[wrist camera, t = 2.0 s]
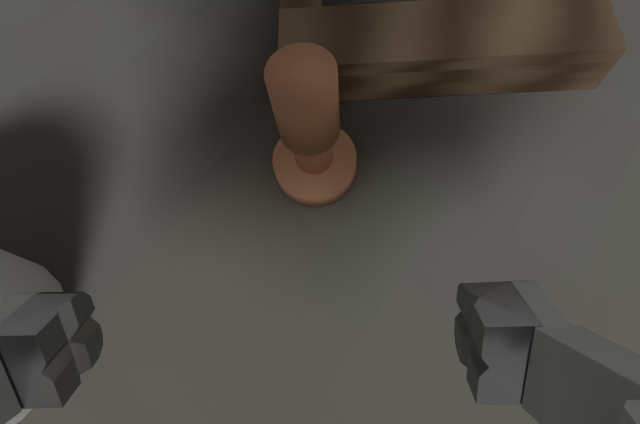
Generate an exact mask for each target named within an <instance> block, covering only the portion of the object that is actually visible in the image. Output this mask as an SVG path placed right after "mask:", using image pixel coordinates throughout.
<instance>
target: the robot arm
mask: <svg viewBox="0 0 640 424" xmlns="http://www.w3.org/2000/svg"><path fill="white" fill-rule="evenodd" d="M456 301H457V303H458V305H459V308H460V310H461V312H460V313H459V314H458V315H457V316H456V317H455V327H454V334H455V345H456V349H457V354H458V356H459V359H460V362H461V363H462V364H463V365H465V366H466V367H467V378H466V379H467V381H468V384H469V386H470V389H471V392H472V394H473V397H474V400H475V402H476V404H489V405H522V406H521V407H522V408H523V409H524V410H525V411H526V412H527V413H528V414H530V415H531V416H532V417H533V418H534V419H535V420H536V421H537V422H539V423H540V424H640V355H639V354H636V353H634V352H632V351H630V350H628V349H626V348H624V347H622V346H620V345H618V344H616V343H614V342H612V341H610V340H608V339H606V338H604V337H602V336H599V335H597V334H595V333H593V332H591V331H589V330H587V329H585V328H583V327H581V326H572V325H571V324H570V323H569V322H568V320H567V319H566V318H565V317H564V315H563V314H562V313H561V312H560V310H559V309H558V308H557V307H556V305H555V304H554V303H553V302H552V300H551V299H550V298H549V297H548V296H547V294H546V293H545V292H544V291H543V289H542V288H541V287H540V286H539V284H538V283H537V282H536V281H534V280H517V281H501V282H480V283H461V284H459V286H458V290H457V299H456ZM94 309H95V307H94V304H93V301H92V299H91V296H90V295H88V294H87V293H85V292H21V293H16V294H13V295H11V296H10V297H9V298H8V299H6V300H5V301H4V302H3V303H1V304H0V424H5V423H7V422H8V421H9V420H11V419H12V418H13V417H15V416H16V415H18V414H19V413H20V412H22V409H37V408H63V406H64V405H65V404H66V402H67V401H68V400H69V398H70V397H71V396H72V394H73V393H74V392H75V390H76V389H77V388H78V386H79V385H80V384H81V380H80V375H81V374H82V373H84V372H86V371H87V370H89V369H91V368H92V367H93V366H94V364H95V363H96V361H97V360H98V358H99V356H100V353H101V350H102V346H103V334H102V330H101V327H100V324H99V323H97V322H96V321H95V320H94V319H93V318H92V317H91V315H92V313H93V311H94Z"/></svg>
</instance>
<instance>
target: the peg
mask: <svg viewBox="0 0 640 424" xmlns="http://www.w3.org/2000/svg"><path fill="white" fill-rule="evenodd" d="M264 81H265V84H266V88H267V91H268V95H269V99H270V102H271V106H272V109H273V113H274V116H275V120H276V124H277V127H278V131H279V134H280V139H279V141H278V142H277V144H276V146H275V148H274V151H273V156H272V165H273V170H274V172H275V175H276V178H277V181H278V184H279V186H280V188H281V190H282V191H283V192H284V194H285V195H286V196H287V197H289V198H290V199H291V200H293V201H295V202H297V203H299V204H302V205H305V206H324V205H328V204H331V203H333V202H335V201H337V200H339V199H340V198H342V197H343V196H344V195H345V194H346V193H347V192H348V191H349V190H350V188H351V187H352V185H353V183H354V180H355V177H356V161H357V155H356V149H355V146H354V144H353V142H352V140H351V138H350V137H349V136H348V135H347V134H346V133H345V132H344V131H343V130H341V129H340V112H339V87H338V67H337V62H336V60H335V58H334V56H333V55H332V54H331V53H330V52H329V51H328V50H327V49H325V48H324V47H322V46H320V45H317V44H314V43H307V42H299V43H293V44H289V45H286V46H284V47H282V48H280V49H279V50H277V51H276V52H275V53H274V54H273V55H272V56H271V57H270V58H269V59H268V61H267V63H266V65H265V68H264Z"/></svg>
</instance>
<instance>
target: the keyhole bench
mask: <svg viewBox="0 0 640 424" xmlns="http://www.w3.org/2000/svg"><path fill="white" fill-rule="evenodd" d="M299 42H307V43H314V44H317V45H320V46H322V47H324V48H325V49H327V50H328V51H329V52H330V53H331V54H332V55H333V56H334V58H335V60H336V62H337V67H338V87H339V101H357V100H377V99H397V98H417V97H436V96H456V95H476V94H496V93H516V92H536V91H556V90H575V89H595V88H596V86H597V85H598V84H599V83H600V81H601V80H602V79H603V78H604V77H605V75H606V74H607V73H608V72H609V70H610V69H611V68H612V67H613V66H614V64H615V63H616V62H617V61H618V59H619V58H620V57H621V56H622V54H623V53H624V52H625V51H626V50H627V47H626V45H625V42H624V39H623V36H622V34H621V31H620V28H619V25H618V23H617V20H616V17H615V14H614V11H613V9H612V6H611V3H610V0H415V1H399V2H383V3H367V4H351V5H335V6H322V0H279V30H278V50H279V49H280V48H282V47H284V46H286V45H289V44H293V43H299Z"/></svg>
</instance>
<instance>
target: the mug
mask: <svg viewBox="0 0 640 424" xmlns="http://www.w3.org/2000/svg"><path fill="white" fill-rule="evenodd" d="M21 292H63V289H62V287H61V284H60V282H59V281H58V280H57V279H56V278H55V277H54V276H53V275H52V274H51V273H50V272H49V271H48V270H47V269H46V268H45V267H44V266H41V265H39V264H36V263H34V262H31V261H29V260H26V259H24V258H21V257H19V256H16V255H14V254H11V253H9V252H6V251H4V250H1V249H0V304H1V303H3V302H4V301H5V300H6V299H8V298H9V297H10V296H11V295H13V294H16V293H21ZM30 411H31V409H22V412H20V413H19V414H18V415H16V416H15V417H13V418H12V419H11V420H9V421H8V422H7V423H5V424H16V423H18V422H19V421H21V420H22V419H23V418H24V417H25V416H26V415H27V414H28V413H29V412H30Z"/></svg>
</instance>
